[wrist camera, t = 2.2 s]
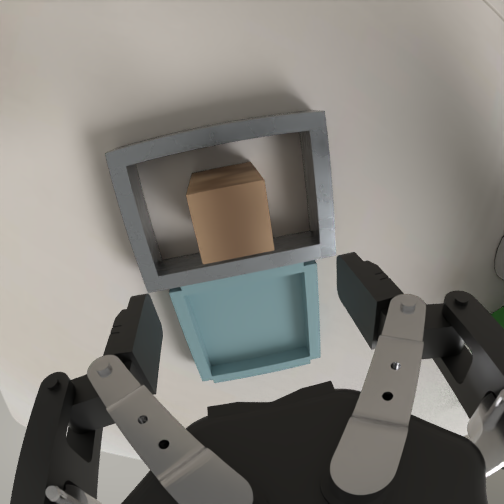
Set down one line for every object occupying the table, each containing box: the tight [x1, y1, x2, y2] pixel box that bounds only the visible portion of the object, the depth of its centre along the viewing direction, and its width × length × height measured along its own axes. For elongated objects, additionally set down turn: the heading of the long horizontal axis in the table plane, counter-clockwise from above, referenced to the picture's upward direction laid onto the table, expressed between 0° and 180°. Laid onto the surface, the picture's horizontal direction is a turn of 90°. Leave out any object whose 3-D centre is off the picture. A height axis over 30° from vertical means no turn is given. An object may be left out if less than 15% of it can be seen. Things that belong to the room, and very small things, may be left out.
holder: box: [105, 110, 336, 293], centre depth 25 cm, size 17×12×3 cm
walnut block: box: [186, 162, 274, 264], centre depth 24 cm, size 5×5×7 cm
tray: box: [169, 260, 320, 383], centre depth 31 cm, size 13×13×2 cm
